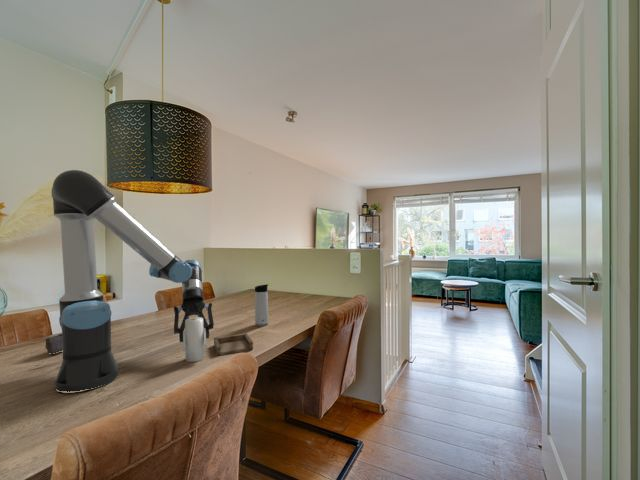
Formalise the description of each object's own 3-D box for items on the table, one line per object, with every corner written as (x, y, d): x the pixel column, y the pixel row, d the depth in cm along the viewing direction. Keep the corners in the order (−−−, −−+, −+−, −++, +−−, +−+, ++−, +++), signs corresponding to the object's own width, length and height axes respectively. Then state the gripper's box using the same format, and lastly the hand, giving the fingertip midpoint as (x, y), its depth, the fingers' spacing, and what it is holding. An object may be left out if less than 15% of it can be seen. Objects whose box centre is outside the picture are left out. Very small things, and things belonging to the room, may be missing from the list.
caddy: (217, 355, 109) (217, 347, 109) (214, 345, 120) (213, 338, 120) (252, 349, 115) (252, 342, 115) (246, 340, 125) (246, 333, 125)
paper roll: (185, 363, 103) (185, 322, 103) (185, 357, 108) (185, 318, 108) (204, 359, 105) (203, 320, 105) (203, 354, 111) (202, 316, 111)
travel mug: (265, 326, 145) (265, 285, 145) (253, 326, 146) (252, 285, 146) (270, 323, 151) (270, 283, 151) (258, 322, 152) (257, 283, 152)
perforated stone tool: (76, 343, 125) (76, 327, 125) (88, 344, 125) (87, 327, 125) (39, 357, 110) (38, 339, 110) (51, 358, 110) (51, 339, 110)
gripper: (217, 296, 125) (222, 348, 110) (166, 301, 117) (164, 358, 102) (218, 285, 120) (224, 338, 105) (165, 289, 112) (163, 347, 97)
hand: (195, 348), depth 104 cm, fingers closed on paper roll, 6 cm apart
